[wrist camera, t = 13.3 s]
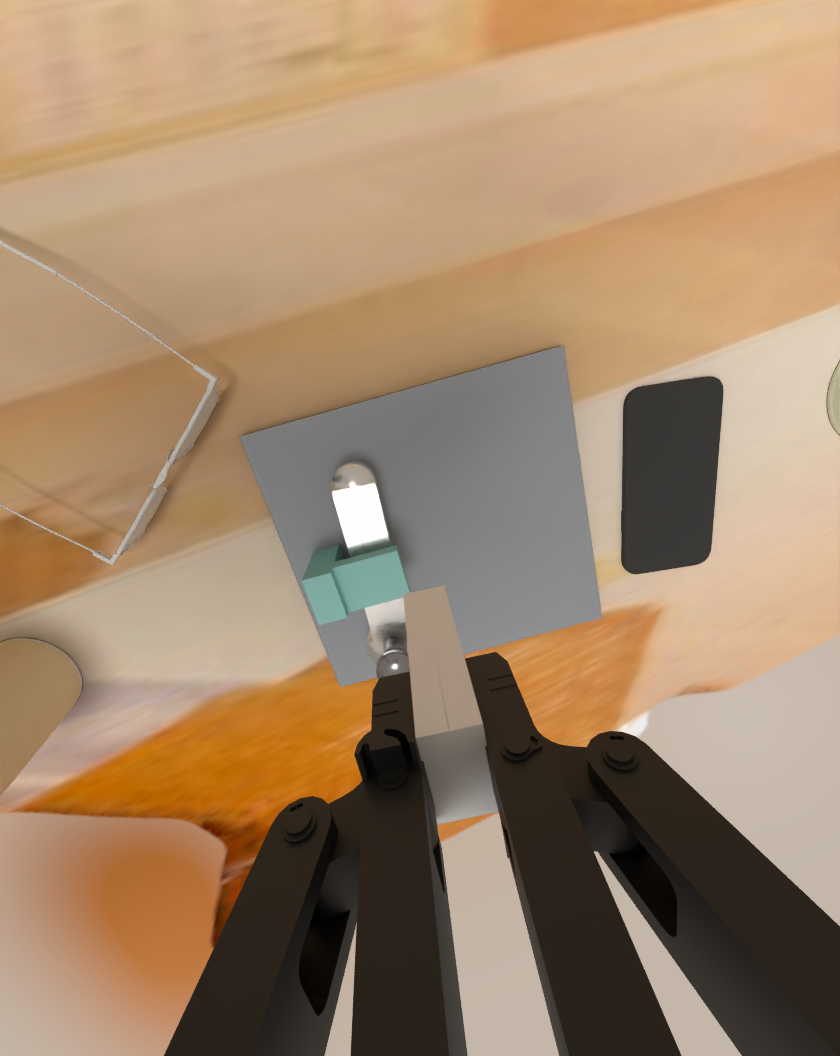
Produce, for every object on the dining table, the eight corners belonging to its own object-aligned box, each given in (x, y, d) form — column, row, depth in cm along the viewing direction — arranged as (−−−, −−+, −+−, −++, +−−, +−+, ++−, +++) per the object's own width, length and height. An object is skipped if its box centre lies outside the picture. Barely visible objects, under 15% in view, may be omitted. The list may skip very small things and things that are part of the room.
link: (426, 649, 37) (432, 689, 33) (374, 660, 37) (373, 702, 33) (380, 453, 32) (379, 468, 27) (319, 466, 32) (307, 483, 27)
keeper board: (243, 434, 32) (212, 449, 26) (558, 346, 31) (596, 341, 26) (341, 679, 39) (333, 731, 34) (596, 611, 39) (632, 653, 33)
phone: (726, 373, 32) (711, 562, 37) (718, 374, 33) (704, 558, 38) (625, 389, 32) (623, 576, 37) (619, 389, 33) (618, 572, 38)
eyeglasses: (140, 549, 35) (110, 571, 31) (-118, 409, 30) (-190, 415, 26) (238, 379, 31) (217, 380, 27) (-39, 191, 27) (-109, 162, 23)
